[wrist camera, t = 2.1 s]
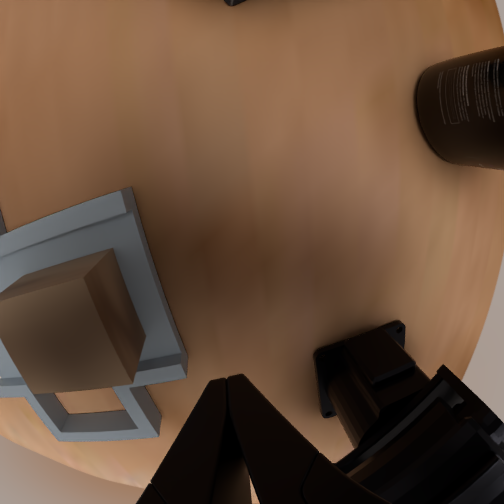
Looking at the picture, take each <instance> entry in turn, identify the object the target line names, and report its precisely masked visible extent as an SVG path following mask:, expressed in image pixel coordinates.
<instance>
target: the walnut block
mask: <svg viewBox="0 0 504 504" xmlns="http://www.w3.org/2000/svg"><path fill="white" fill-rule="evenodd" d="M0 339H1V341H2V343H3V345H4V347H5V348H6V350H7V352H8V354H9V356H10V357H11V359H12V361H13V363H14V364H15V366H16V368H17V369H18V371H19V373H20V374H21V376H22V377H23V379H24V381H25V382H26V384H27V385H28V387H29V388H30V390H31V391H32V393H33V394H45V393H59V392H71V391H82V390H91V389H100V388H108V387H116V386H123V385H130V384H133V382H134V378H135V375H136V371H137V367H138V363H139V360H140V356H141V353H142V349H143V346H144V342H145V339H146V334H145V332H144V329H143V327H142V325H141V322H140V320H139V317H138V315H137V313H136V310H135V308H134V305H133V302H132V300H131V297H130V295H129V292H128V289H127V287H126V284H125V281H124V279H123V276H122V273H121V270H120V267H119V265H118V262H117V259H116V256H115V253H114V250H113V248H110V249H106V250H103V251H99V252H96V253H93V254H89V255H86V256H83V257H79V258H76V259H73V260H70V261H66V262H63V263H60V264H57V265H54V266H50V267H47V268H44V269H41V270H38V271H35V272H32V273H29V274H26V275H23V276H22V277H20V278H19V279H18V280H16V281H15V282H14V283H12V284H11V285H10V286H9V287H7V288H6V289H5V290H3V291H2V292H1V293H0Z"/></svg>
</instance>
